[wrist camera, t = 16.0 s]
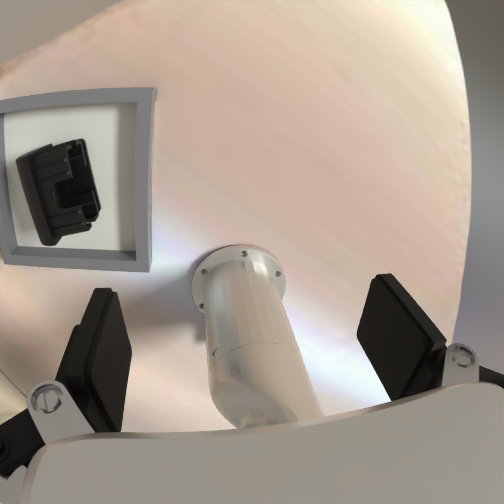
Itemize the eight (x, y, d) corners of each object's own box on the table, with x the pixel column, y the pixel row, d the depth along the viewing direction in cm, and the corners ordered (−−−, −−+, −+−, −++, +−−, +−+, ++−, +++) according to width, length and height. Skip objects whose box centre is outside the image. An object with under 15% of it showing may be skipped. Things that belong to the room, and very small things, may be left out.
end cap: (33, 148, 29) (4, 163, 24) (84, 132, 30) (60, 144, 24) (55, 224, 34) (33, 251, 29) (103, 214, 35) (87, 240, 29)
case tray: (151, 259, 40) (149, 272, 37) (13, 253, 36) (4, 264, 33) (157, 87, 30) (153, 87, 27) (-3, 101, 26) (-16, 103, 23)
